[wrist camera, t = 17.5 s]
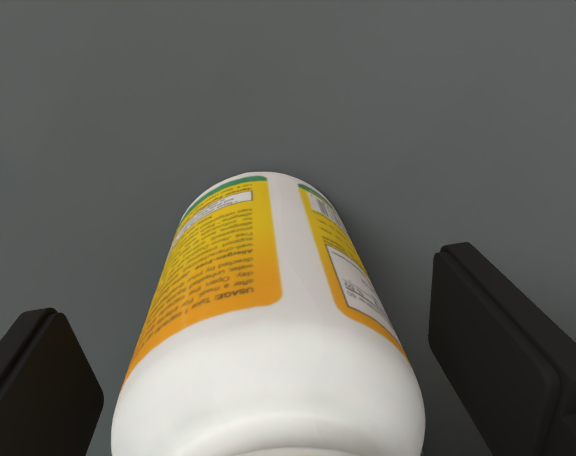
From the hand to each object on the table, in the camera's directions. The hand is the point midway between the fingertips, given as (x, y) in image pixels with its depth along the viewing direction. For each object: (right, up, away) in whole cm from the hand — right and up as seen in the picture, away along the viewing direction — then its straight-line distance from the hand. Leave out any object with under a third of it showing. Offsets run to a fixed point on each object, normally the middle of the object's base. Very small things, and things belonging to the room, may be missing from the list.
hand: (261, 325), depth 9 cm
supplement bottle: (0, +2, +4) cm, 4 cm away
